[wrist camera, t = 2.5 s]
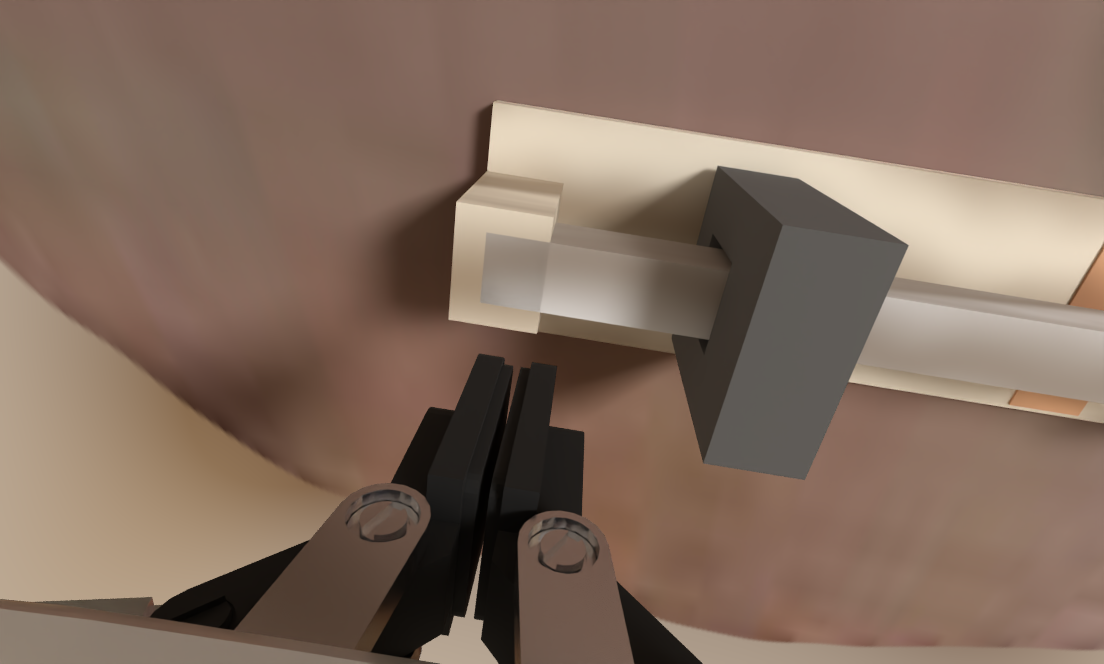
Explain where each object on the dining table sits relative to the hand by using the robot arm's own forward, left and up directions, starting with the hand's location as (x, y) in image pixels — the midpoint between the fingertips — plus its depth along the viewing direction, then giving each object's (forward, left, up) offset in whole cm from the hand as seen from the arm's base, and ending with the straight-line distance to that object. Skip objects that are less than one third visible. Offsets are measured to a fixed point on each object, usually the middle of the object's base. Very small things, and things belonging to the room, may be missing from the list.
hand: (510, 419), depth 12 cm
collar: (-1, +7, -12) cm, 14 cm away
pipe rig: (-1, +14, -13) cm, 19 cm away
